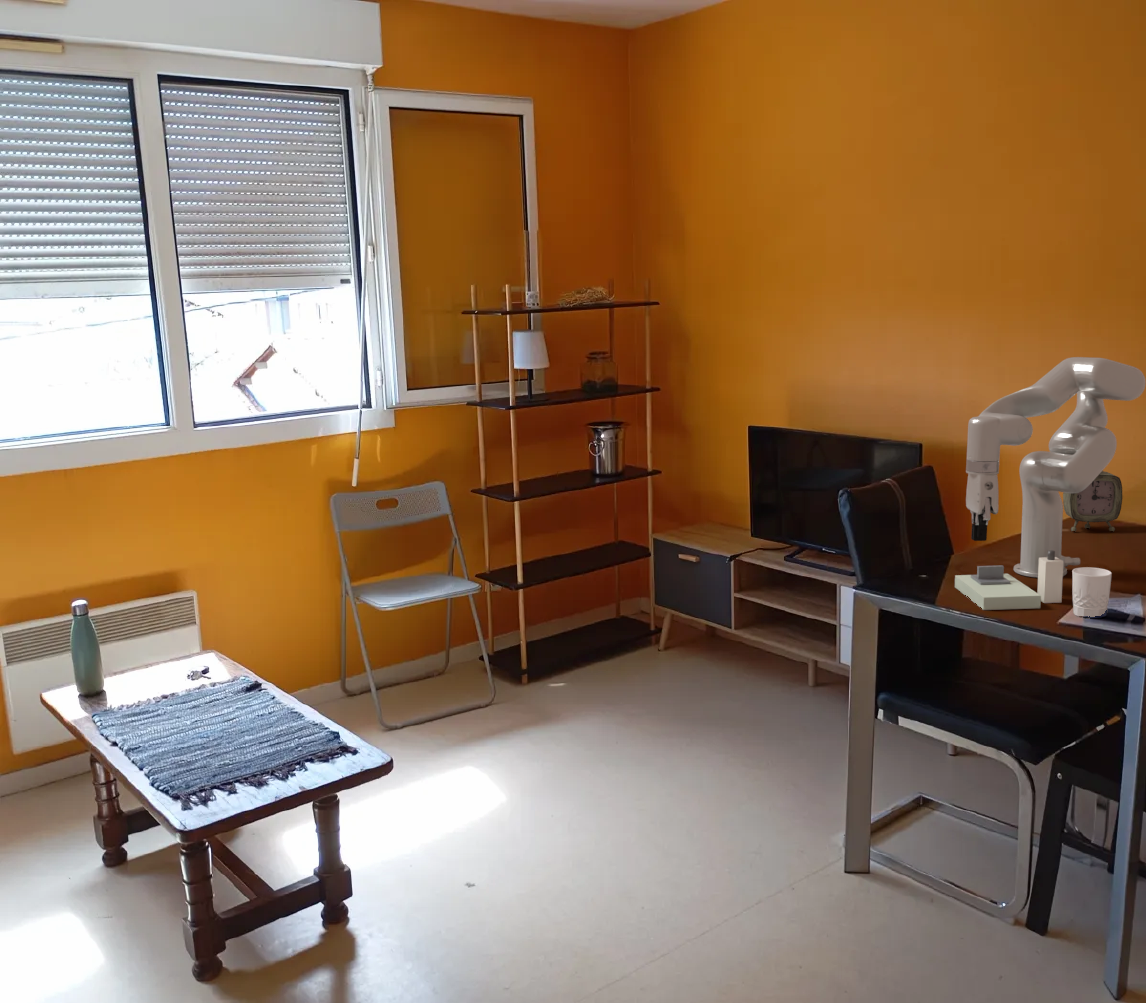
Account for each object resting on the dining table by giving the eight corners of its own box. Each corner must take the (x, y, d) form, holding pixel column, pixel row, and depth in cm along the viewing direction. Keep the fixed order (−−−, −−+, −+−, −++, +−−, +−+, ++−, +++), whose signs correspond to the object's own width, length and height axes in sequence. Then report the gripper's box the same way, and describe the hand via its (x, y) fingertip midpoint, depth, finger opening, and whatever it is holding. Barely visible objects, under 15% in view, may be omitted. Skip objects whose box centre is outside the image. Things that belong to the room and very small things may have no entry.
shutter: (999, 576, 257) (999, 562, 256) (1010, 583, 250) (1010, 569, 249) (970, 577, 257) (971, 563, 256) (980, 584, 250) (981, 570, 250)
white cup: (1063, 610, 238) (1065, 568, 236) (1096, 608, 238) (1098, 566, 236) (1082, 621, 230) (1084, 577, 228) (1116, 618, 230) (1119, 574, 229)
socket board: (1007, 585, 260) (1007, 573, 259) (1040, 608, 240) (1040, 595, 240) (954, 587, 260) (955, 575, 260) (983, 610, 241) (983, 597, 240)
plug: (1054, 597, 248) (1056, 548, 246) (1061, 602, 244) (1063, 552, 242) (1037, 598, 248) (1039, 549, 246) (1044, 603, 244) (1046, 553, 242)
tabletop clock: (1068, 533, 311) (1072, 450, 306) (1059, 527, 320) (1063, 446, 315) (1120, 533, 308) (1125, 449, 304) (1110, 526, 317) (1114, 445, 313)
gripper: (1009, 471, 248) (1005, 546, 251) (986, 462, 263) (983, 533, 266) (977, 471, 248) (974, 546, 251) (956, 463, 263) (953, 534, 266)
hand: (978, 539), depth 259 cm, fingers closed
